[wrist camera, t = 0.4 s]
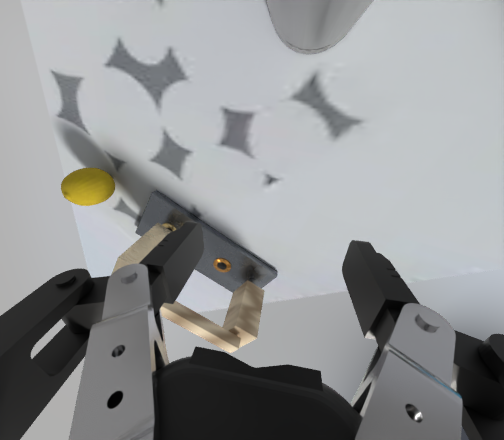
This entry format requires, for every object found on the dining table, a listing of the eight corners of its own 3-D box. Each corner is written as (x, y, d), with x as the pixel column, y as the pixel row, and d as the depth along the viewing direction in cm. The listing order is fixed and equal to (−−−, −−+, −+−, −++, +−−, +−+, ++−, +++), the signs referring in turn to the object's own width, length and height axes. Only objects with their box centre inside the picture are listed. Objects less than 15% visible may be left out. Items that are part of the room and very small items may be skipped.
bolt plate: (277, 271, 38) (271, 333, 28) (246, 295, 43) (232, 353, 33) (156, 190, 33) (96, 228, 23) (139, 229, 39) (85, 273, 29)
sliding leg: (265, 284, 38) (254, 352, 28) (250, 295, 40) (236, 361, 30) (177, 227, 34) (127, 281, 24) (167, 243, 37) (119, 298, 27)
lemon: (123, 167, 32) (77, 184, 25) (128, 196, 35) (88, 218, 28) (92, 158, 32) (39, 172, 25) (99, 188, 35) (54, 208, 28)
